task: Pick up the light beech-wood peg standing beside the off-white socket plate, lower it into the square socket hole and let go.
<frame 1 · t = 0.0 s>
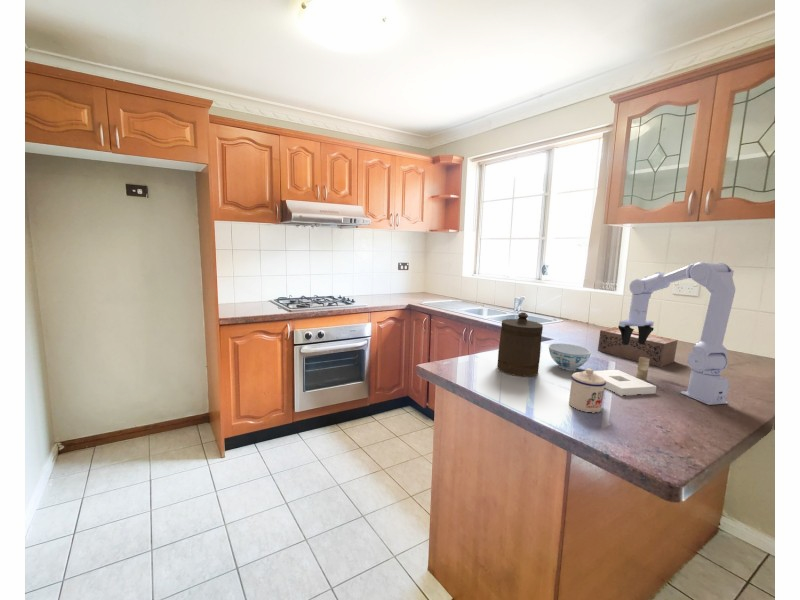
hand: (633, 344, 147), 10 cm above the worktop, tool pointing down, fingers open, 7 cm apart
tissue box cover: (634, 356, 168), on the worktop
teacup with lid: (587, 406, 111), on the worktop
wooden container: (517, 370, 141), on the worktop
chinaware: (567, 368, 146), on the worktop
peg: (641, 379, 137), on the worktop
socket plate: (618, 385, 130), on the worktop
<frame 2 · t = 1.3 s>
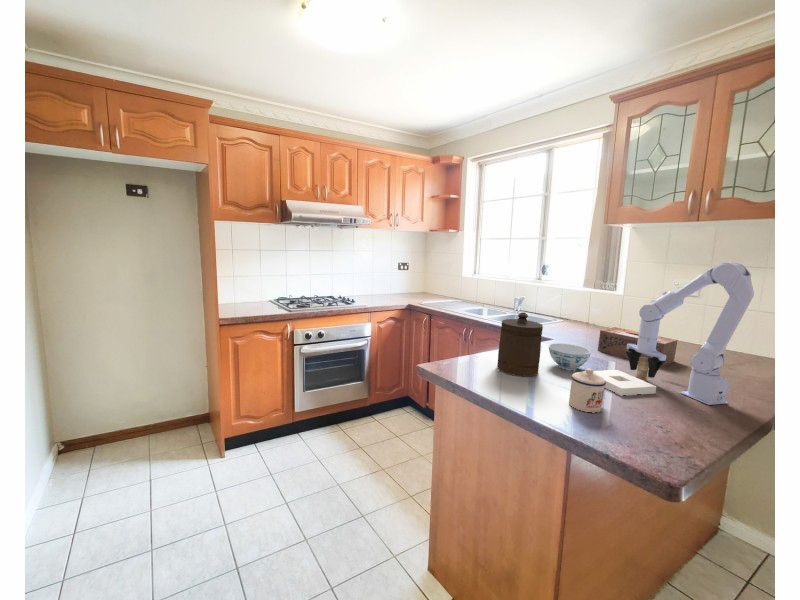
hand: (642, 373, 137), 2 cm above the worktop, tool pointing down, fingers open, 7 cm apart
nothing on the worktop moved.
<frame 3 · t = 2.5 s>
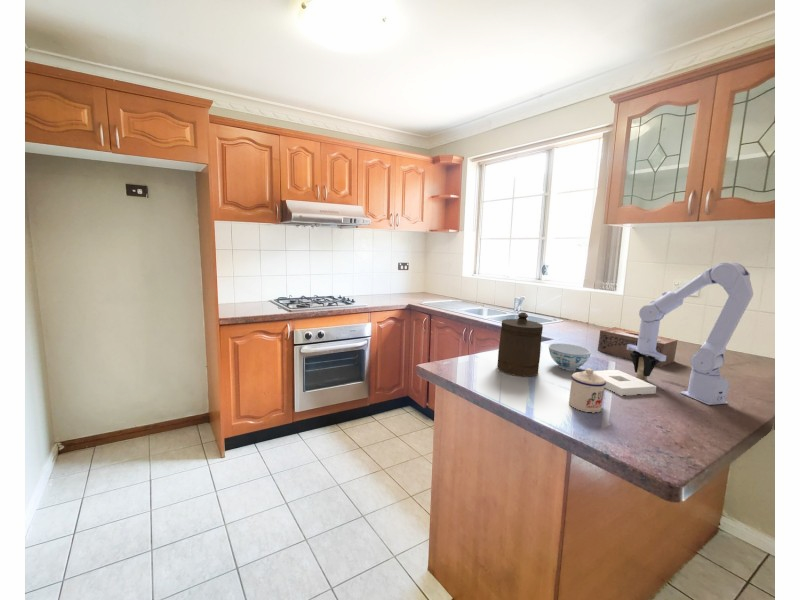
hand: (642, 374, 137), 2 cm above the worktop, tool pointing down, fingers closed on peg, 3 cm apart
peg: (641, 379, 137), on the worktop, touching gripper
everything else where it was.
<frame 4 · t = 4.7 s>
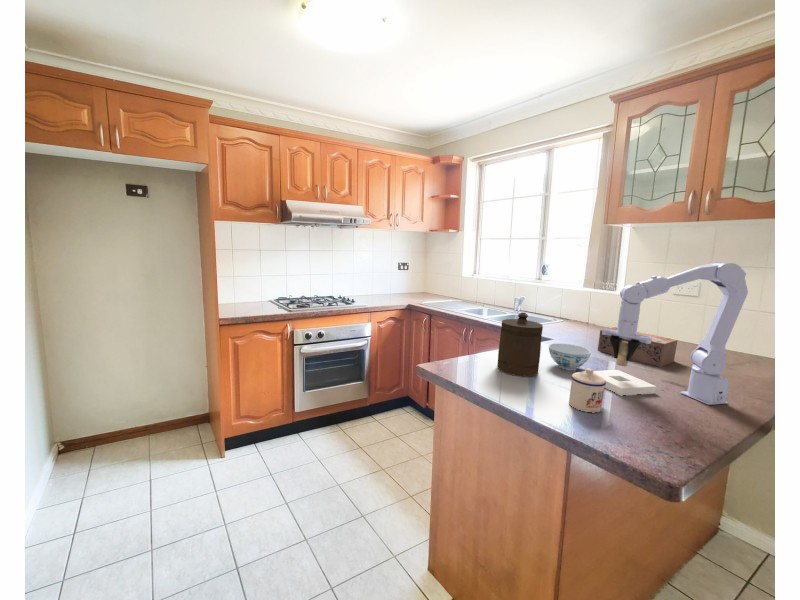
hand: (622, 359, 128), 9 cm above the worktop, tool pointing down, fingers closed on peg, 3 cm apart
peg: (621, 364, 129), point 7 cm above the worktop, touching gripper
everything else where it was.
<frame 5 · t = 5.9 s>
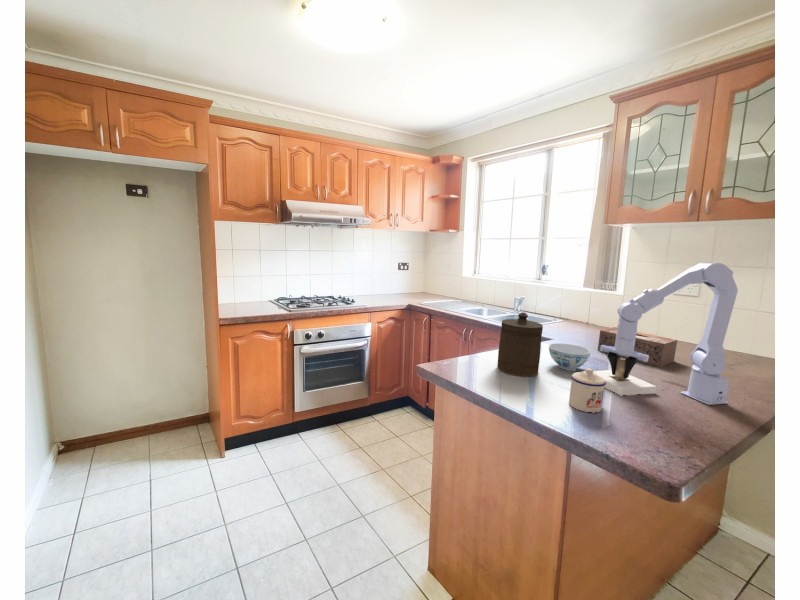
hand: (620, 375, 129), 3 cm above the worktop, tool pointing down, fingers closed on peg, 3 cm apart
peg: (619, 381, 129), point 1 cm above the worktop, touching gripper
everything else where it was.
when the fingers open (3 cm above the worktop, at t = 6.8 s): peg drops 1 cm, resting on socket plate.
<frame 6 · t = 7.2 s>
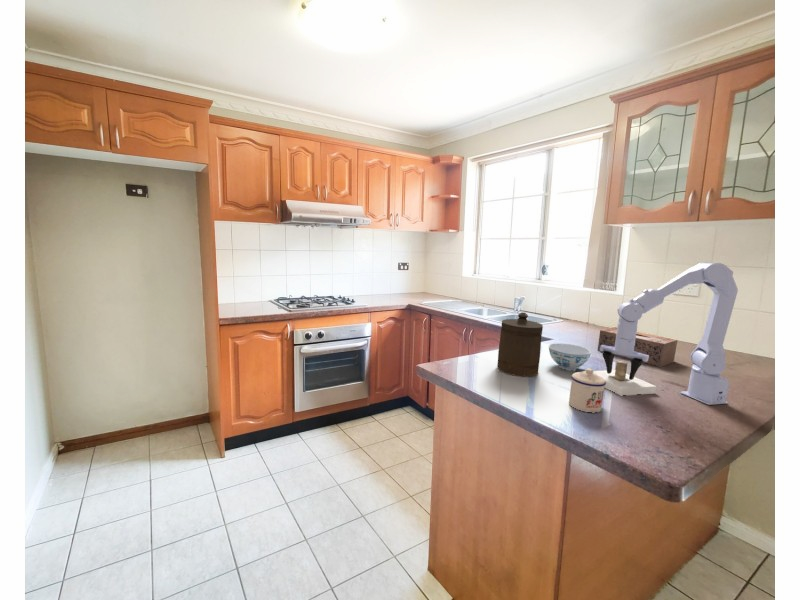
hand: (620, 375, 129), 3 cm above the worktop, tool pointing down, fingers open, 6 cm apart
peg: (618, 384, 130), resting on socket plate
everything else where it was.
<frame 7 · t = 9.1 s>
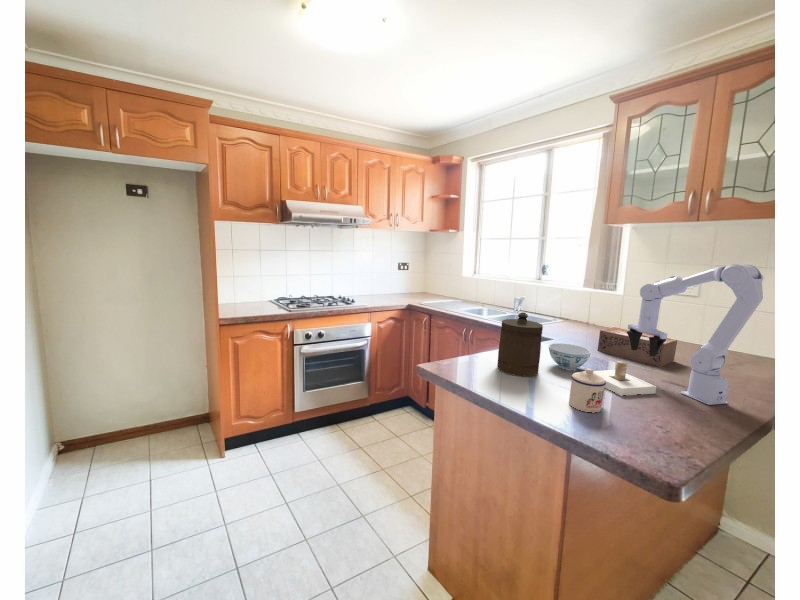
hand: (643, 352, 138), 9 cm above the worktop, tool pointing down, fingers open, 7 cm apart
nothing on the worktop moved.
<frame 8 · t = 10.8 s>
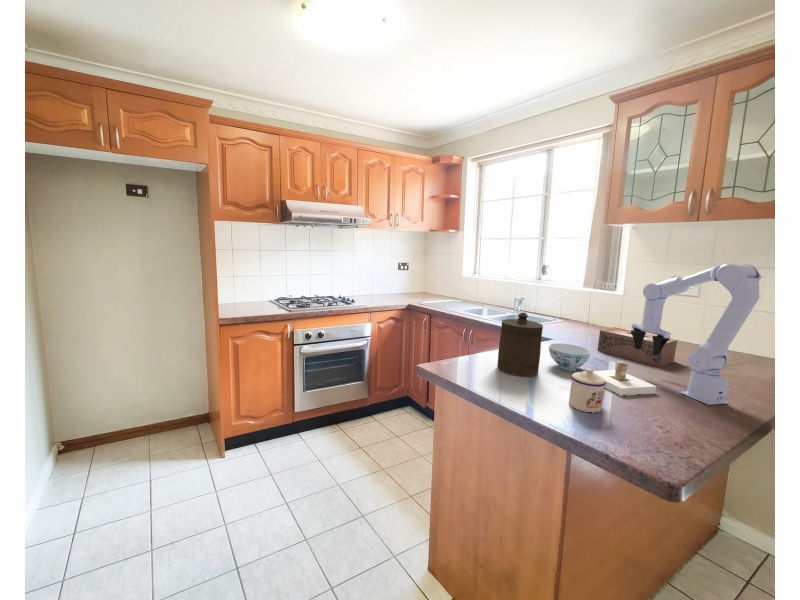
hand: (646, 351, 139), 9 cm above the worktop, tool pointing down, fingers open, 7 cm apart
nothing on the worktop moved.
at the end: peg 0.0 cm off-centre on the socket plate, point 0.2 cm above the socket plate's base; peg tilted 1°; the gripper is holding nothing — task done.
